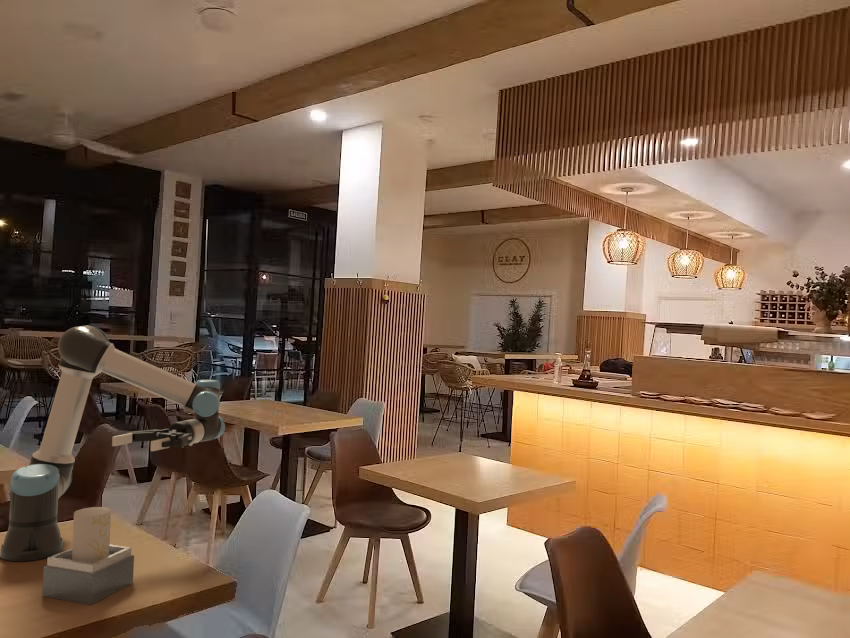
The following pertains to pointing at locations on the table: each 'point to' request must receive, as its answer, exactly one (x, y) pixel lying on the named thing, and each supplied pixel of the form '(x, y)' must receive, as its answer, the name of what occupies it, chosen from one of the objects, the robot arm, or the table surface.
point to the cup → (91, 534)
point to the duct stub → (87, 576)
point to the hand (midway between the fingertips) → (132, 443)
